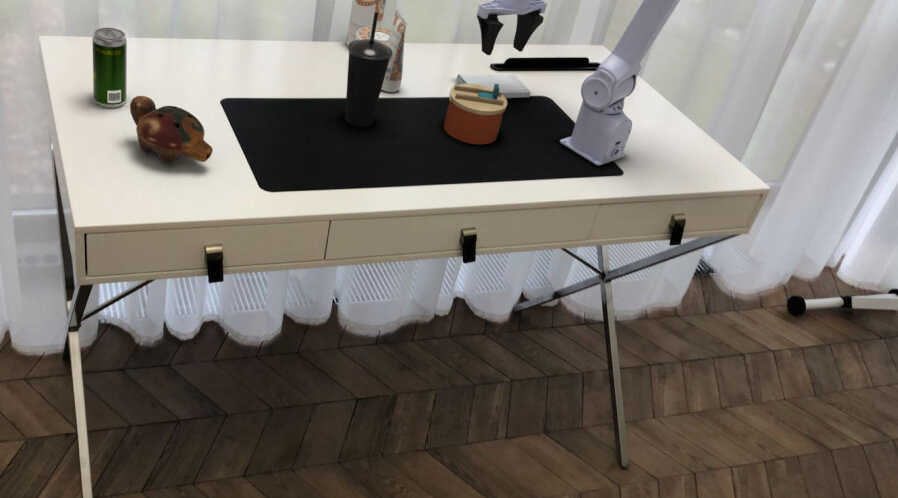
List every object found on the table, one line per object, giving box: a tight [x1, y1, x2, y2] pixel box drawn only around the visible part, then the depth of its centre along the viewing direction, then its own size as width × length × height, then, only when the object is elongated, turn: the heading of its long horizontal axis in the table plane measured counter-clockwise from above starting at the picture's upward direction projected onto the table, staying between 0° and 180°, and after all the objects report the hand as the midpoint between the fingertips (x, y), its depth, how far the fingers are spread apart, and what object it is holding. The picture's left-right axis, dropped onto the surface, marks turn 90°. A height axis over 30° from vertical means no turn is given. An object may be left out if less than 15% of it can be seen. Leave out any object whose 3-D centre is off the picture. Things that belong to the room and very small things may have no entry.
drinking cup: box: [344, 12, 393, 128], centre depth 167 cm, size 8×8×20 cm
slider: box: [478, 84, 500, 100], centre depth 173 cm, size 3×2×2 cm
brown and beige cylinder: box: [443, 83, 508, 146], centre depth 175 cm, size 10×10×8 cm
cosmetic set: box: [346, 0, 408, 93], centre depth 187 cm, size 25×9×19 cm, turn 18°
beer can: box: [91, 27, 128, 109], centre depth 161 cm, size 5×5×12 cm
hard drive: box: [456, 73, 532, 99], centre depth 192 cm, size 2×8×12 cm
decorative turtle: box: [129, 95, 214, 165], centre depth 152 cm, size 10×15×8 cm, turn 68°
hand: (502, 51), depth 183 cm, fingers open, 7 cm apart
